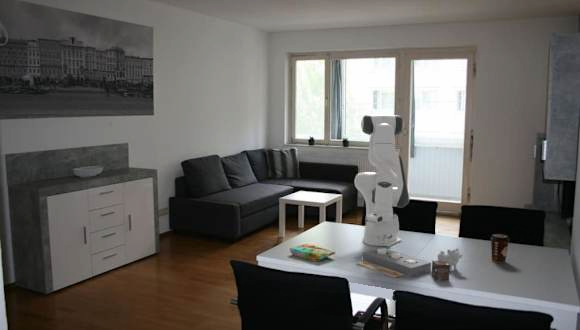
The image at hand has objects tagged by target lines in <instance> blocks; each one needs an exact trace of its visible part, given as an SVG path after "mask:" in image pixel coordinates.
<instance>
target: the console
mask: <svg viewBox="0 0 580 330" xmlns="http://www.w3.org/2000/svg"><path fill="white" fill-rule="evenodd" d="M380 248H382V249H386V254H384V255H381V254H378V253H377V249H380ZM391 253H399V254H401V258H400V259H393V258H391ZM406 260H414V261H416V263H415V264H409V263H406ZM362 261H368V262H371V263H373V264H376V265H379V266H382V267H385V268H388V269H391V270H394V271H396V272H399V273H402V274H404V276H407V277H409V278H410V277H411V278H412V277H415V276H418V275H422V274H425V273H429V272H432V261H431V262H430V261H427V260H425V259H421V258H418V257H414V256H410V255H408V254H404V253H401V252H398V251H394V250H391V249H389V248H386V247H379V248H376V249H372V250H365V251H362Z"/></svg>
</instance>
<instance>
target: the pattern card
mask: <svg viewBox="0 0 580 330" xmlns="http://www.w3.org/2000/svg"><path fill="white" fill-rule="evenodd" d="M356 265H358V266H361V267H364V268H366V269H370V270H371V269H372V271H373V272H374V271H375V272H377V273H380V274H383V275H386V276H388V277H391V278H393V279H397V278H399V277H404V276H405V275H404V274H402V273H399V272H396V271H394V270H391V269H388V268H385V267H382V266H379V265H376V264H373V263H371V262H368V261H364V260H362V261H360V262H356Z"/></svg>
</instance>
